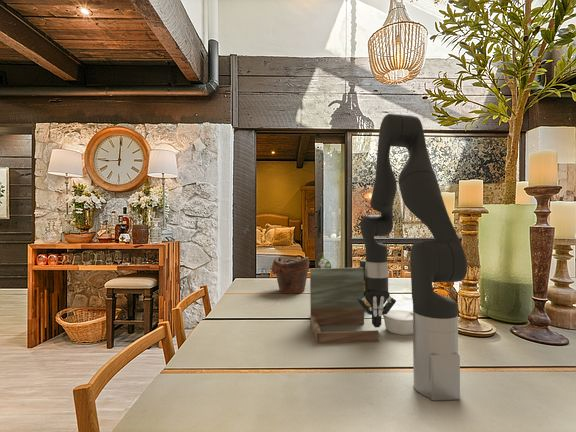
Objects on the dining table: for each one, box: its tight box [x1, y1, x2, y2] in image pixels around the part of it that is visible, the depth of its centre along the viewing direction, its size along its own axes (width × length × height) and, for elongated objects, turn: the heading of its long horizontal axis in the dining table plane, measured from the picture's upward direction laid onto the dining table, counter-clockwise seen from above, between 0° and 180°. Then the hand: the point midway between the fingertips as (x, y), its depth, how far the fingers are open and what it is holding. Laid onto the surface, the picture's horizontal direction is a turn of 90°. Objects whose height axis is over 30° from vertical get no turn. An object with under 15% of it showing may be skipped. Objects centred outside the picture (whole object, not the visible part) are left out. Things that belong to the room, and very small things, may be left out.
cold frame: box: [309, 267, 380, 344], centre depth 111 cm, size 17×19×20 cm
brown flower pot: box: [270, 256, 311, 295], centre depth 171 cm, size 18×20×18 cm
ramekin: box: [382, 309, 413, 336], centre depth 113 cm, size 11×11×5 cm
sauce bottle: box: [359, 259, 371, 311], centre depth 139 cm, size 6×6×20 cm
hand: (376, 326), depth 112 cm, fingers closed
